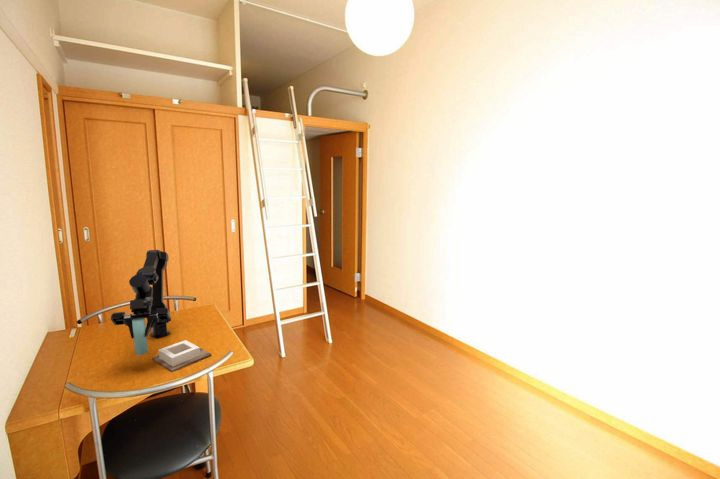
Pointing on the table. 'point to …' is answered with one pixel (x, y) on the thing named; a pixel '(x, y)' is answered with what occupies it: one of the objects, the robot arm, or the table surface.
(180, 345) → the socket
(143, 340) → the teal peg
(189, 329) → the table surface
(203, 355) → the base board
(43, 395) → the table surface
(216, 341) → the table surface
